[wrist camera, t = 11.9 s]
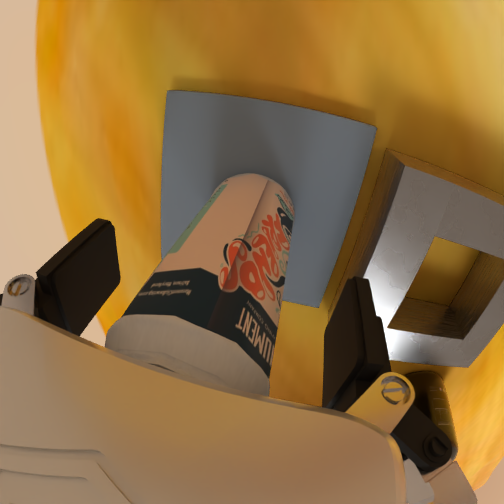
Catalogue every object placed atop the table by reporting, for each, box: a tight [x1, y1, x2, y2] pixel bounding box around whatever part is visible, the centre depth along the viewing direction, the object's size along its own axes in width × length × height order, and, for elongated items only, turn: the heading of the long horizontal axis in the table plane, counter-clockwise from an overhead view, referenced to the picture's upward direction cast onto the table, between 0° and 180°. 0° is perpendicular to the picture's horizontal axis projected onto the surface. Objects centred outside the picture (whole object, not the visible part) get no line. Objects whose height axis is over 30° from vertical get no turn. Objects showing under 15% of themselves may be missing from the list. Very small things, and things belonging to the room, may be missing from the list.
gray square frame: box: [328, 148, 504, 367], centre depth 16 cm, size 12×12×4 cm
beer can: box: [105, 173, 295, 397], centre depth 12 cm, size 5×5×12 cm
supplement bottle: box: [404, 371, 458, 504], centre depth 19 cm, size 7×7×12 cm
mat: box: [161, 90, 377, 308], centre depth 17 cm, size 12×11×1 cm
